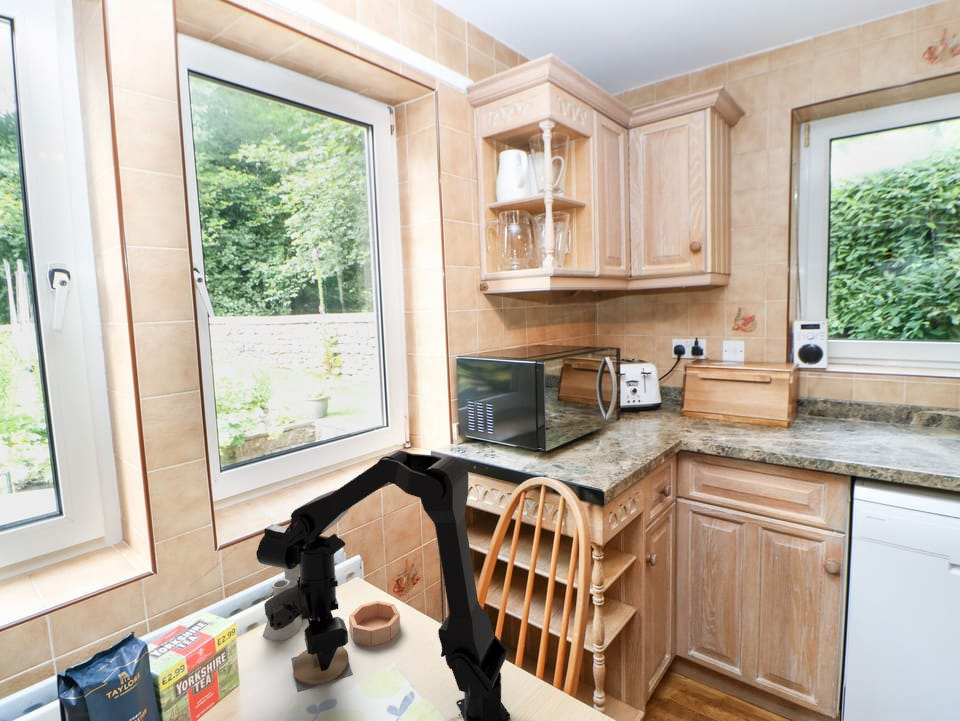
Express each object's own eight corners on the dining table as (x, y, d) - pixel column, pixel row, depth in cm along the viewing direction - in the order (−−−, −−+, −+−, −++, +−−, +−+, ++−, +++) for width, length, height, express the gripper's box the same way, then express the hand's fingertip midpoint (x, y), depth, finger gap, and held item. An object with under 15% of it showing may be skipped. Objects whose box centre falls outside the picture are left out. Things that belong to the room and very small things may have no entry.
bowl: (404, 639, 99) (404, 621, 99) (356, 653, 95) (356, 635, 95) (391, 613, 107) (390, 597, 107) (346, 625, 103) (346, 608, 103)
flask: (289, 646, 97) (287, 595, 96) (254, 641, 99) (252, 591, 98) (309, 623, 104) (307, 575, 103) (277, 618, 106) (274, 572, 105)
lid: (353, 674, 89) (352, 650, 88) (296, 692, 85) (295, 666, 84) (342, 643, 97) (342, 620, 97) (290, 657, 93) (289, 634, 93)
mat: (353, 677, 89) (352, 674, 89) (297, 695, 85) (297, 691, 85) (342, 646, 97) (342, 643, 97) (291, 661, 93) (291, 657, 93)
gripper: (262, 558, 94) (267, 639, 96) (270, 613, 77) (276, 710, 79) (326, 545, 99) (329, 623, 101) (347, 595, 82) (350, 687, 84)
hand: (321, 657), depth 91 cm, fingers open, 7 cm apart
